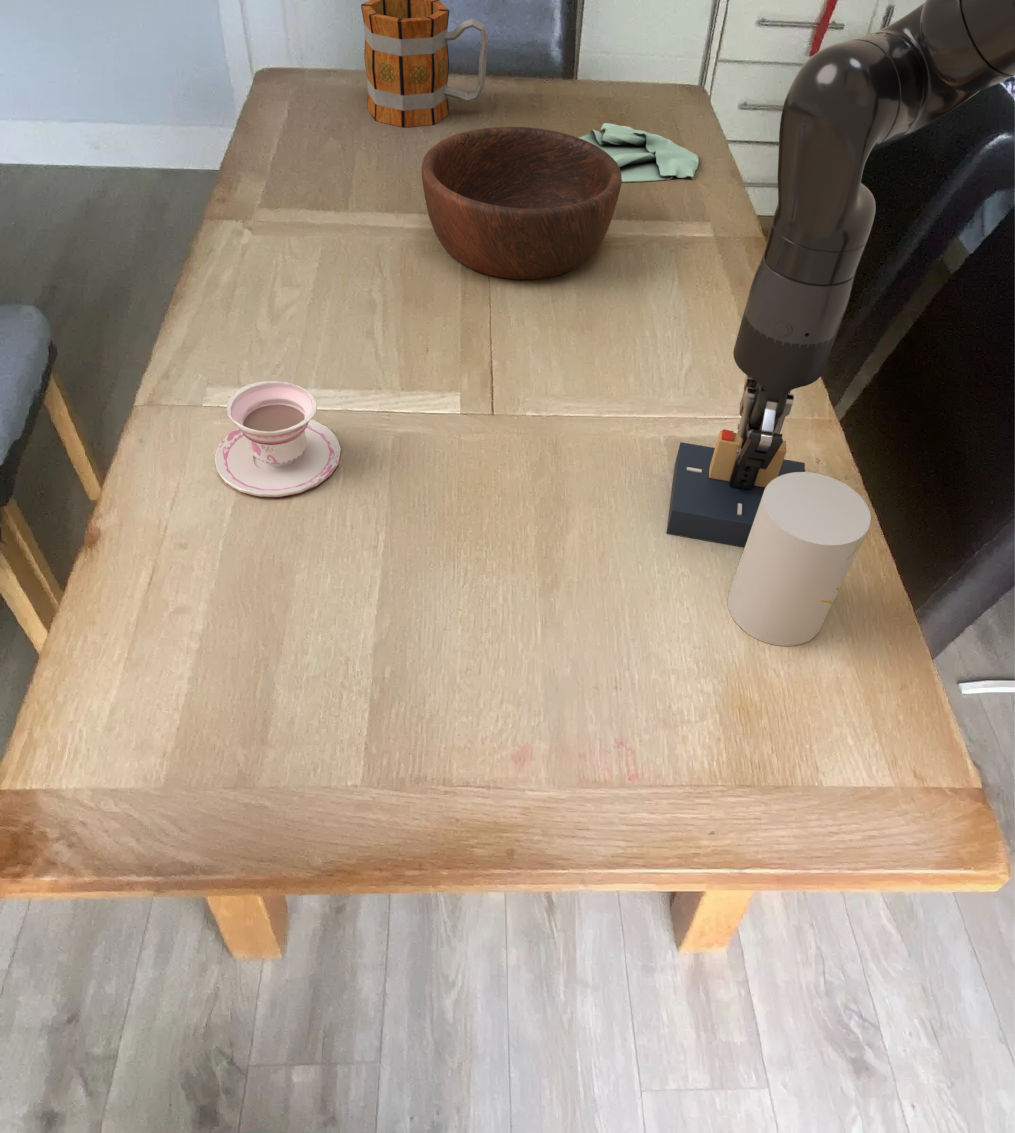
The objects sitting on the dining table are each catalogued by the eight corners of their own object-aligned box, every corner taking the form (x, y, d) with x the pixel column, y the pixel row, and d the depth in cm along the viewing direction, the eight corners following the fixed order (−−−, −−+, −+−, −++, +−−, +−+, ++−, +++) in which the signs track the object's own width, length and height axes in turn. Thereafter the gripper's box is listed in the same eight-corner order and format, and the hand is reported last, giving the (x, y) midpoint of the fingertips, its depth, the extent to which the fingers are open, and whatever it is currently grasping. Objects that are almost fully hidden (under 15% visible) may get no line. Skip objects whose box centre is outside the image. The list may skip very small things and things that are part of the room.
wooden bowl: (633, 223, 125) (645, 148, 118) (577, 311, 109) (586, 230, 101) (467, 186, 131) (469, 111, 123) (390, 264, 114) (386, 184, 107)
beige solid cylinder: (830, 649, 75) (881, 549, 66) (732, 641, 75) (770, 540, 66) (814, 577, 81) (859, 476, 72) (723, 570, 81) (756, 468, 72)
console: (795, 478, 90) (805, 454, 87) (797, 557, 82) (807, 532, 80) (675, 458, 91) (681, 433, 89) (666, 533, 84) (672, 508, 81)
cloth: (710, 184, 135) (714, 168, 133) (565, 182, 133) (567, 165, 131) (683, 129, 149) (686, 114, 147) (551, 126, 147) (553, 110, 145)
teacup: (364, 443, 90) (360, 392, 86) (293, 515, 83) (284, 464, 78) (266, 406, 94) (256, 355, 89) (189, 473, 86) (174, 421, 82)
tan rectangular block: (773, 478, 85) (787, 438, 81) (773, 489, 84) (787, 449, 80) (709, 467, 86) (720, 427, 82) (708, 478, 84) (719, 438, 81)
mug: (360, 124, 144) (353, 18, 133) (373, 93, 153) (367, -9, 142) (484, 132, 144) (486, 27, 133) (488, 100, 153) (491, -1, 142)
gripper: (844, 371, 67) (780, 535, 80) (836, 278, 76) (780, 438, 89) (743, 355, 68) (696, 520, 81) (747, 265, 77) (704, 426, 90)
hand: (740, 476), depth 85 cm, fingers closed on console, 2 cm apart
